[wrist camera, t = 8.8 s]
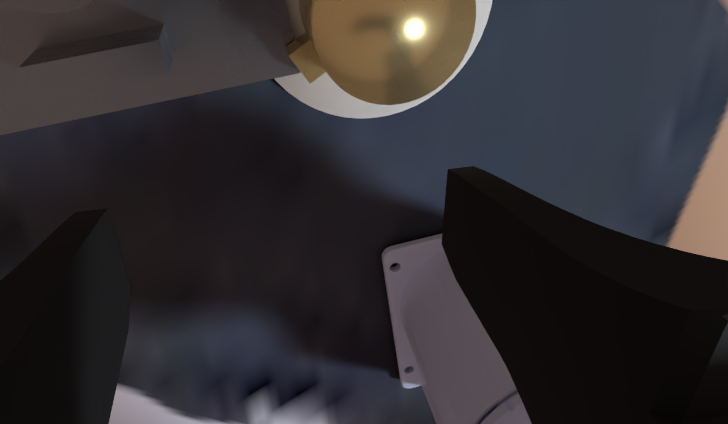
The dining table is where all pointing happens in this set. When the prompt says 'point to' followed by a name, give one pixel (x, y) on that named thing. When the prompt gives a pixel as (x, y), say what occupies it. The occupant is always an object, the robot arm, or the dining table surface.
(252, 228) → the dining table surface
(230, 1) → the post base
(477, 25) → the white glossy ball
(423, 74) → the cap
